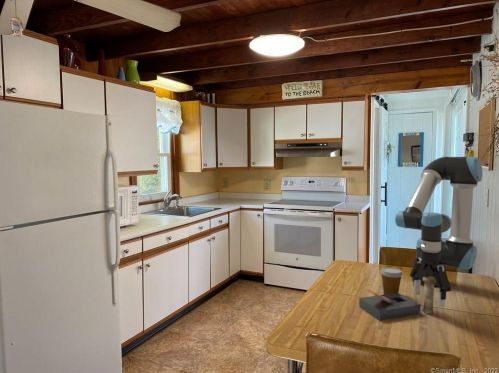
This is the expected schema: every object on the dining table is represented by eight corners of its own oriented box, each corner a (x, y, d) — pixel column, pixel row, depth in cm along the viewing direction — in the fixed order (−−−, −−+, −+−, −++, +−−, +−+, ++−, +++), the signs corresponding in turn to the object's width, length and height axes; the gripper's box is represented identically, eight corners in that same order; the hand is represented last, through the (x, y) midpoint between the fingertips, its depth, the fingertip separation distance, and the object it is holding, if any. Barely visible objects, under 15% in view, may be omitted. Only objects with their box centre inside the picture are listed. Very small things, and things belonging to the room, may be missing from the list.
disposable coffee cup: (403, 299, 169) (404, 274, 168) (381, 298, 171) (382, 272, 170) (399, 292, 179) (400, 267, 177) (378, 290, 180) (379, 266, 179)
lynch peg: (428, 309, 159) (429, 275, 157) (437, 314, 154) (439, 279, 153) (418, 310, 157) (420, 277, 156) (427, 315, 152) (429, 280, 151)
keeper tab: (383, 299, 160) (384, 296, 160) (392, 304, 155) (393, 301, 155) (366, 290, 157) (367, 287, 157) (374, 295, 152) (376, 292, 152)
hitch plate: (397, 301, 168) (397, 292, 167) (420, 313, 154) (420, 304, 154) (359, 306, 162) (359, 298, 161) (379, 320, 148) (380, 311, 148)
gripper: (402, 244, 164) (400, 291, 166) (447, 259, 140) (445, 313, 142) (416, 242, 166) (414, 289, 168) (463, 257, 143) (460, 311, 145)
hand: (428, 300), depth 155 cm, fingers open, 12 cm apart
